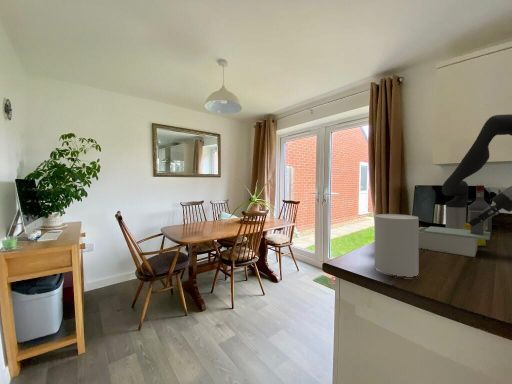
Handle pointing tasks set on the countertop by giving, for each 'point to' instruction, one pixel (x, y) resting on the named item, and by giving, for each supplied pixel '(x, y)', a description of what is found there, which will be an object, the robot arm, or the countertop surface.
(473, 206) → the liquor
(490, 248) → the countertop surface
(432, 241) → the carton
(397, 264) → the canister
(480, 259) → the countertop surface
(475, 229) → the carton lid
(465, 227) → the supplement box
